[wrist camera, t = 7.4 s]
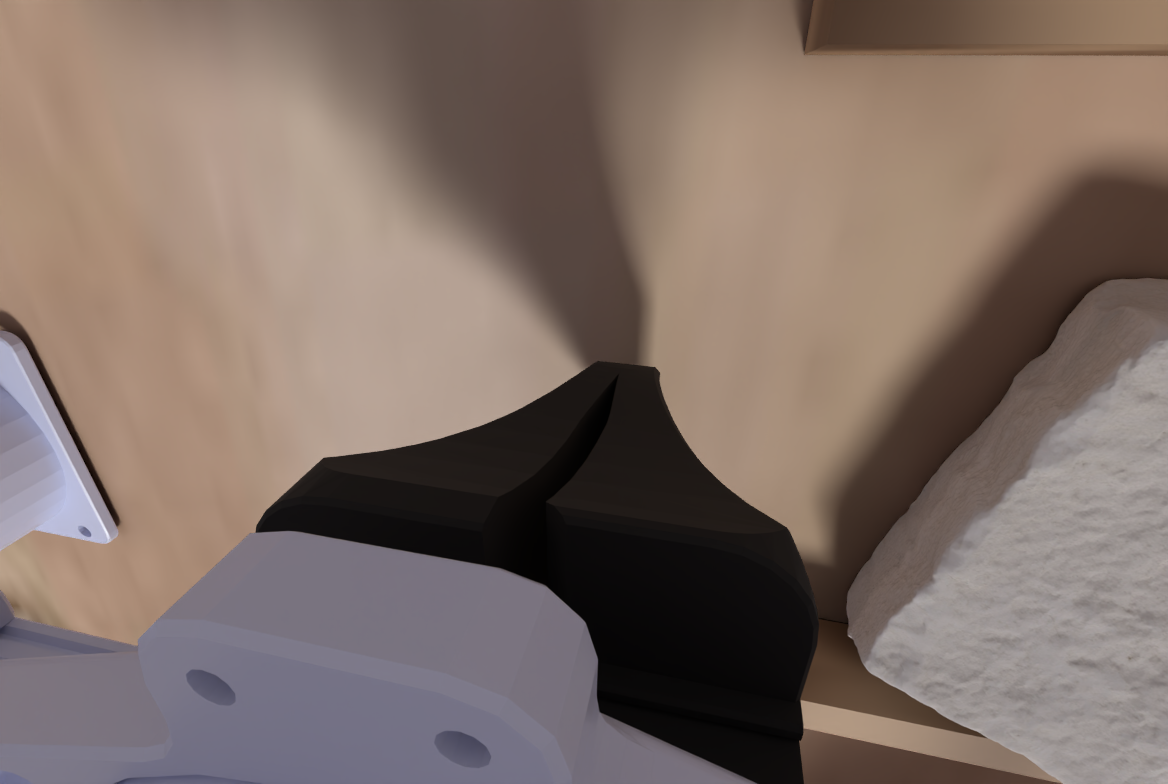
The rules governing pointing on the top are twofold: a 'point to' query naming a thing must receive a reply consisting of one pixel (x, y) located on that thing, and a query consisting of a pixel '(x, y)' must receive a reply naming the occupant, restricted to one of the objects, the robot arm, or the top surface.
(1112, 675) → the white rough stone
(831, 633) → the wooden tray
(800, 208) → the top surface
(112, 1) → the top surface
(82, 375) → the top surface
